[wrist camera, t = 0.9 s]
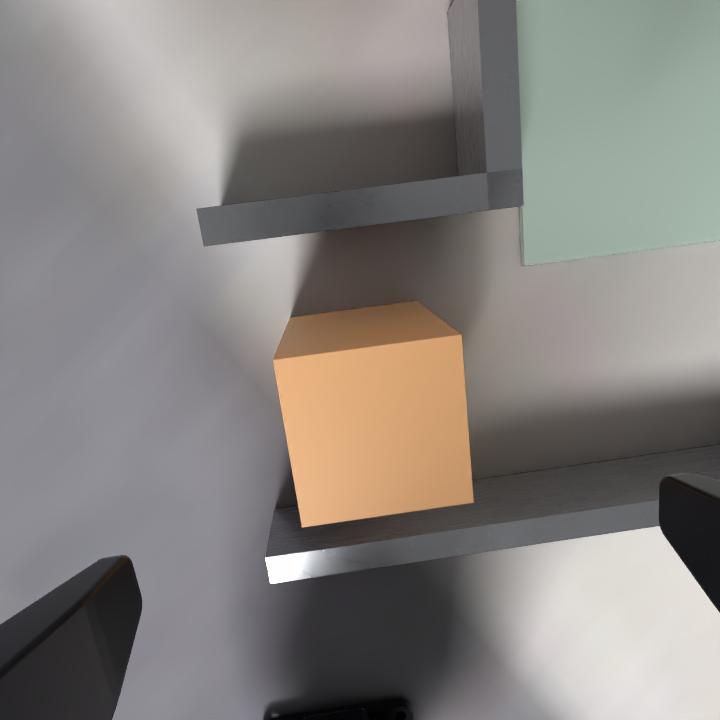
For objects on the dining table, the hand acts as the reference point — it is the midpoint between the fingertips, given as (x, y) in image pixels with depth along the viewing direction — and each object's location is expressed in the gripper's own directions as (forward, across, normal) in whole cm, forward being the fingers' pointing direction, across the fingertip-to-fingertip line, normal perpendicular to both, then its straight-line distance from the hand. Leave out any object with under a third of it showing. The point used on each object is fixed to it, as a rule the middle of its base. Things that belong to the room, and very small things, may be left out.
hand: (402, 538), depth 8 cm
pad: (+10, -10, -7) cm, 16 cm away
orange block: (+10, 0, 0) cm, 10 cm away
